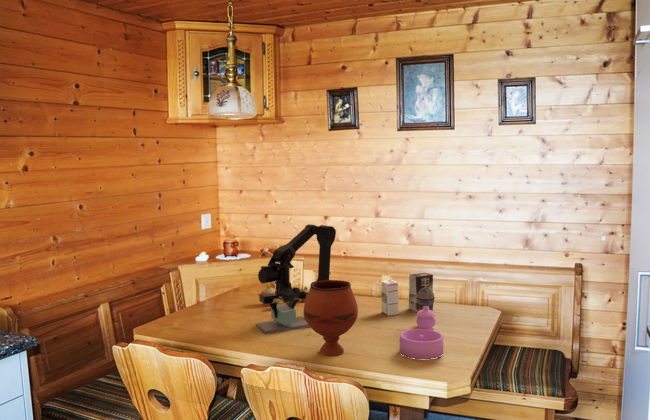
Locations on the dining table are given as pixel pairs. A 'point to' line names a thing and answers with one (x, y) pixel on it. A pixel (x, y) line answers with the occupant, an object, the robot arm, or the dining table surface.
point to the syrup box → (390, 297)
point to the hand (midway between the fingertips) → (283, 316)
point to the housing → (284, 314)
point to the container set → (422, 338)
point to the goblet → (330, 312)
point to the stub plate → (281, 326)
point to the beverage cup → (425, 298)
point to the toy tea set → (272, 292)
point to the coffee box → (418, 287)
